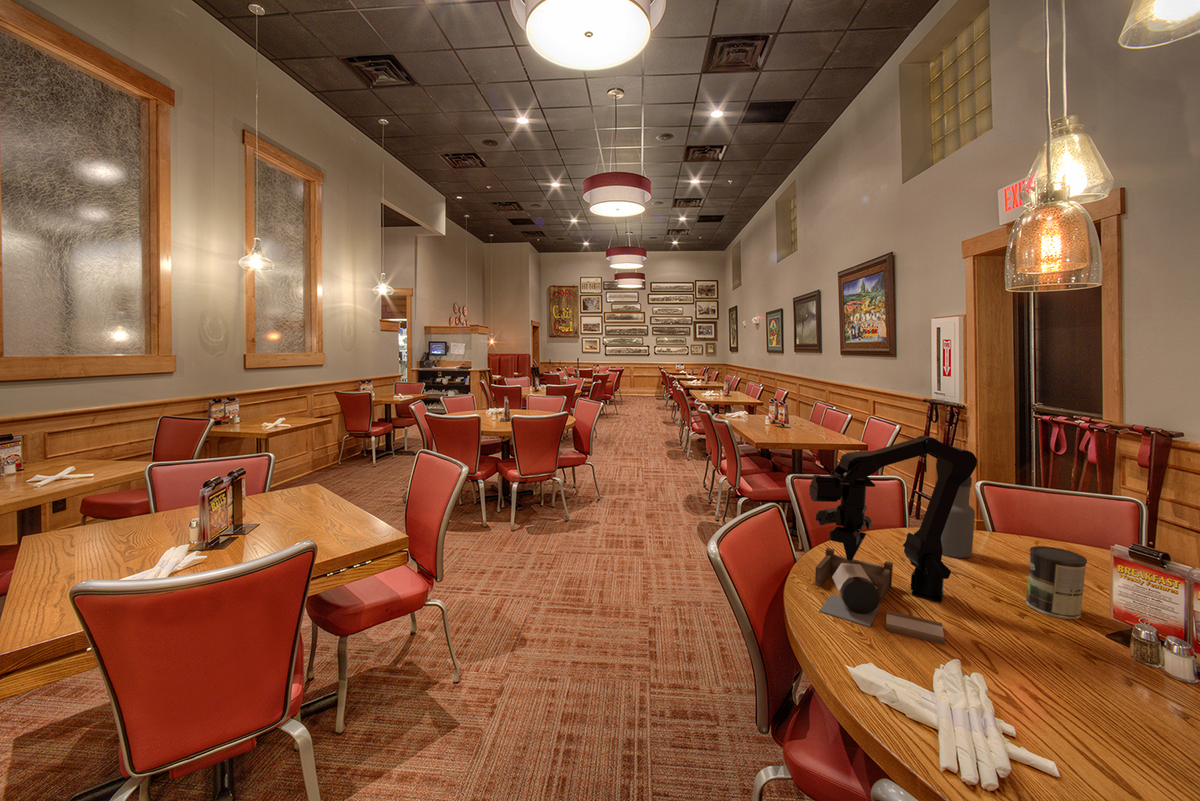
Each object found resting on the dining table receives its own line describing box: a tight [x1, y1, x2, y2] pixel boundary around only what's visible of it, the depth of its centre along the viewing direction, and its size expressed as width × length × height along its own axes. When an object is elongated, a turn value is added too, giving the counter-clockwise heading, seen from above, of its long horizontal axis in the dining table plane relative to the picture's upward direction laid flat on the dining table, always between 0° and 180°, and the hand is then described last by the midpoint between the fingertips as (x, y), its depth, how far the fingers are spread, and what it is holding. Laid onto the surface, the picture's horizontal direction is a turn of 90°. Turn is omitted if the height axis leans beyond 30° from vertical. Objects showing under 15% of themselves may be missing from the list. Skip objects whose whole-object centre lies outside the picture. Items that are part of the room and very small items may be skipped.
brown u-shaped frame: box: [814, 547, 894, 604], centre depth 135 cm, size 17×13×6 cm
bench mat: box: [819, 594, 880, 628], centre depth 122 cm, size 11×11×1 cm
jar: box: [832, 563, 880, 614], centre depth 125 cm, size 9×8×12 cm
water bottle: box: [941, 476, 976, 559], centre depth 157 cm, size 10×10×28 cm
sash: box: [885, 609, 946, 646], centre depth 113 cm, size 11×8×1 cm
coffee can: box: [1025, 545, 1088, 620], centre depth 122 cm, size 10×10×14 cm
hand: (849, 560), depth 131 cm, fingers closed
